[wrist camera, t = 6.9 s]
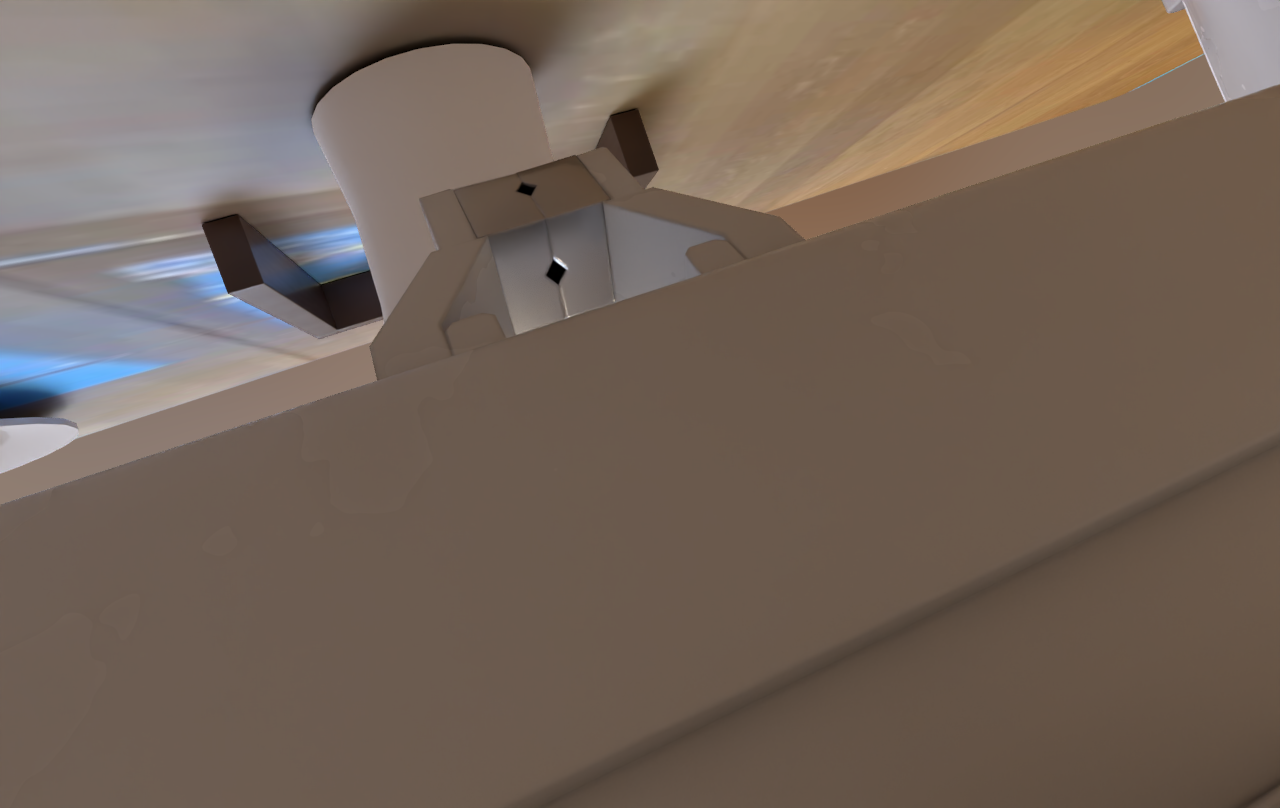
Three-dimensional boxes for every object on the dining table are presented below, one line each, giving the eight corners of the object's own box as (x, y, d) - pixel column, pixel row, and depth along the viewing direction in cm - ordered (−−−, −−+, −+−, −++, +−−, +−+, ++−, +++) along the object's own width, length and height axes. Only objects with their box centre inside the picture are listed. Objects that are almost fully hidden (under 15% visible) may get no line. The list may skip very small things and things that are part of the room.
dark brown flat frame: (638, 108, 27) (659, 169, 27) (584, 212, 41) (599, 252, 41) (201, 224, 24) (227, 293, 24) (302, 295, 37) (318, 339, 37)
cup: (566, 130, 27) (681, 459, 28) (286, 203, 24) (420, 561, 25) (627, -48, 17) (806, 480, 17) (156, 46, 14) (389, 656, 15)
